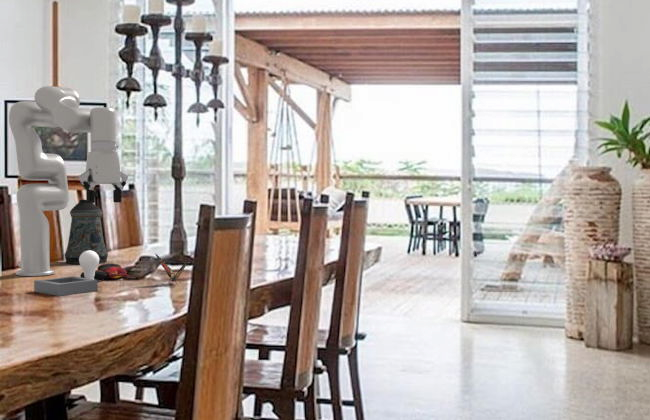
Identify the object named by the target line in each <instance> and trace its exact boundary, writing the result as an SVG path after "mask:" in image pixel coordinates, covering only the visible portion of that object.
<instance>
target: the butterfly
mask: <svg viewBox="0 0 650 420" xmlns="http://www.w3.org/2000/svg"><path fill="white" fill-rule="evenodd" d="M192 255H193V254H191V255H190V256H189V257H188V258H187V259H186V261H185V262H184V263H183V264H182V266H181V267H180V268H179V269H178V271H177V272H176V274H175V272H174V270H172V268H171V267H170V266H169V265H168V264H167V263H166V262H165V261H163V259H162V257H160V256H159V254H157V253H155V257H156V258H157V260H158V261H159V263H160V265H161V266H162V268H163V269H164V271H165V272H166V273H167V276H168V277H169V278H168V280H167V283H166V284H165V286H167V285H168V284H169V283H171V282H175V284H176V285H178V283H177V282H180V281H179V277H180V276H181V274H182V273H183V271H184V270H185V268H186V267H187V263H188V261H189V259H190V258H191V257H192Z"/></svg>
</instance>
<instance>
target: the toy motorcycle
mask: <svg viewBox="0 0 650 420" xmlns="http://www.w3.org/2000/svg"><path fill="white" fill-rule="evenodd" d="M133 267H134V266H133V265H132V266H131V265H129V266H125V267H122V266H121V265H120V264H117V263H109V262H107V263H101V264H99V265H98V266H97V269H96V270H95V276H94V279H95V280H98V282H101V281H104V280H105V279H123V278H125V277H129V276H132V273H131V274H130V273H129V272H128V271H129V270H131V269H132V268H133ZM127 272H128V273H129V274H128V273H127ZM79 277H81V278H85V277H84V271H83V272H81V273H80V276H79Z"/></svg>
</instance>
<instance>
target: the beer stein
mask: <svg viewBox="0 0 650 420" xmlns="http://www.w3.org/2000/svg"><path fill="white" fill-rule="evenodd" d="M69 214H70V217H71V222H70V230H69V235H68V240H67V241H68V242H67V247H66V250H65V253H64V259H65V263H66V264H67V265H80V263H79V257H80V255H81V254H82V253H83V252H85V251H88V250H91V251H94V252H96V253H97V254H98V256H99V264H98V265H102V264H106V263H107V260H108V257H109V254H108V253H109V252H108V250H107V248H106V245H105V241H104V235H103V232H104V231H103V227H102V221H101V219H102V218H101V217H102V215H103V211H102V209H101V208H100V207H99V206H97V205H96V204H95V203H87V199H79V200H78V202H77V204H75V206H73V208H71V210H70V211H69ZM105 262H106V263H105ZM80 266H81V265H80Z"/></svg>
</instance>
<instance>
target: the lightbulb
mask: <svg viewBox="0 0 650 420" xmlns="http://www.w3.org/2000/svg"><path fill="white" fill-rule="evenodd" d="M79 263H80V267H81V269H82V271H83V272H84V277H85V278H88V279H94V276H95V270H97V269H98V267H99V265H100V264H99V256H98V254H97V253H96V252H94V251H91V250H88V251H85V252H83V253H82V254H81V255H80V257H79Z"/></svg>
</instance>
